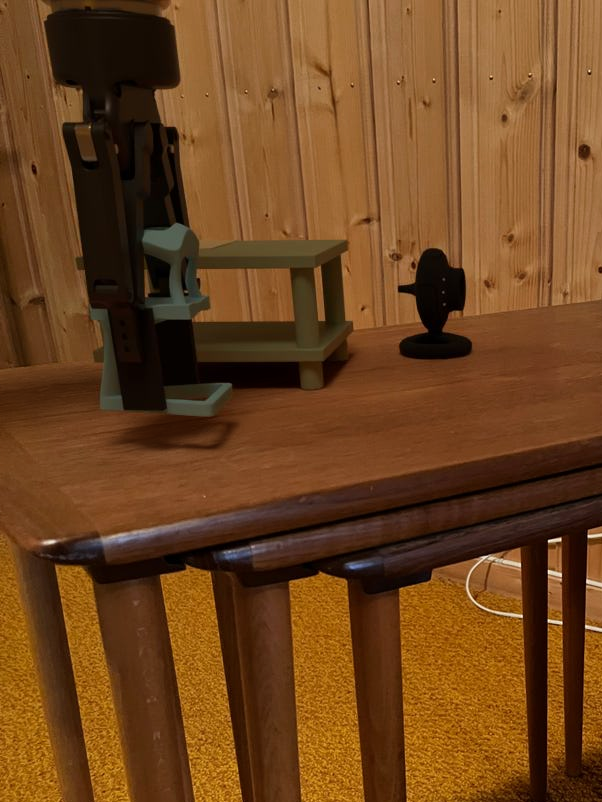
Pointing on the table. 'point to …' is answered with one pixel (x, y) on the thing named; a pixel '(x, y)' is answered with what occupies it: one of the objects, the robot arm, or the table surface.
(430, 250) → the webcam
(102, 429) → the table surface
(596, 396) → the table surface
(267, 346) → the shelf
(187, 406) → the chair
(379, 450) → the table surface
